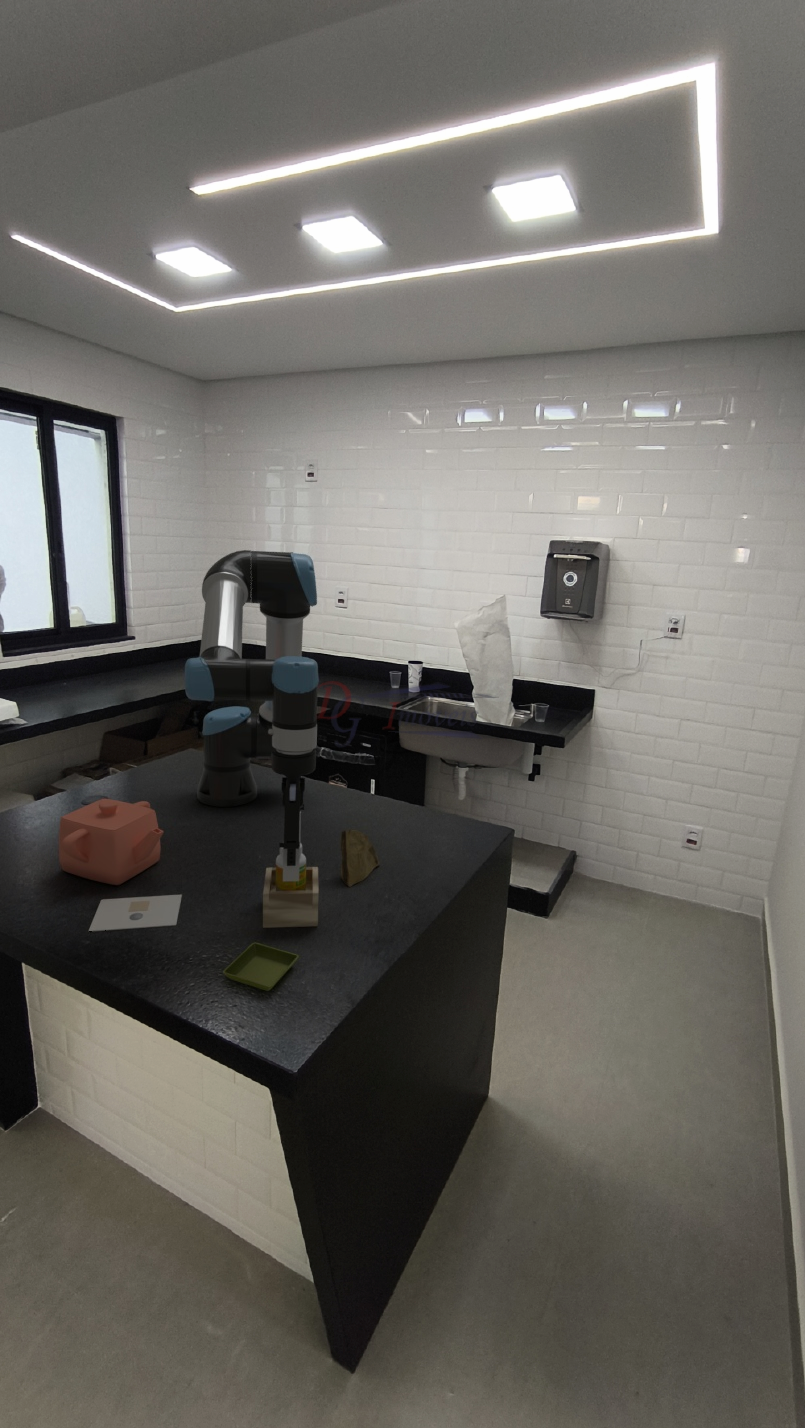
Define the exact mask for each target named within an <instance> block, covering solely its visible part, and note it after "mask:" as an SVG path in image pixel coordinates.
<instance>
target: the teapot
mask: <svg viewBox="0 0 805 1428" xmlns="http://www.w3.org/2000/svg"><path fill="white" fill-rule="evenodd" d="M157 819H158V818H157V815H156V810H154V809H153V808H151V804H150V802H148V801H145V800H144V801H143V800H142V801H137V802H135V803H131V802H130V803H129V802H126V801H121V800H116V799H110V798H102V799H99V800H97V801H96V800H95V801H94V802H92V803H89V804H87V805H84V806H83V807H80V808H78V809H76V810H74V811H71V812H69V813H67V814H65V815H63V816H61V817H60V821H59V831H58V832H59V834H58V860H59V864H60V867H61V869H62V871H64V872H66V873H69V874H71V875H74V876H77V877H80V878H84V879H87V880H90V881H93V882H98V883H103V884H107V885H110V886H113V885H114V886H120V885H121V884H124V883H126V882H127V881H129V880H130V879H132V878H134V877H135V876H137V875H138V874H141V873H142V872H144V871H145V870H146V869H148V868H150V867H151V866H153V865H155V864H157V862H159V861H160V858H161V852H162V851H161V838H162V836H163V834H164V832H165V831H164V830H163V829H161V828H159V824H158V820H157Z"/></svg>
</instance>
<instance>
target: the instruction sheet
mask: <svg viewBox="0 0 805 1428" xmlns="http://www.w3.org/2000/svg"><path fill="white" fill-rule="evenodd" d="M182 897H183V894H169V895H153V896H137V897H122V898H104V899H101V900H100V903H99V904H98V907H97V909H96V912H95V915H94V917H93V919H92V921H91V924H90V927H89V929H88V932H89V931H92V932H103V931H104V932H105V930H106V931H116V930H131V929H133V930H134V929H143V928H145V929H146V928H157V927H158V928H159V927H171V926H175V927H176V926H177V924H178V923H177V922H178V918H179V912H180V907H181V901H182Z"/></svg>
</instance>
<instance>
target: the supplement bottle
mask: <svg viewBox="0 0 805 1428" xmlns="http://www.w3.org/2000/svg"><path fill="white" fill-rule="evenodd" d="M278 852H279V854H278V855H277V857H275V858H276V859H275V868H276V891H306V867H307V857H306V856H305V854H304V853H303V844H302V842H300V861H299V881H283V848H279V851H278Z"/></svg>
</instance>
